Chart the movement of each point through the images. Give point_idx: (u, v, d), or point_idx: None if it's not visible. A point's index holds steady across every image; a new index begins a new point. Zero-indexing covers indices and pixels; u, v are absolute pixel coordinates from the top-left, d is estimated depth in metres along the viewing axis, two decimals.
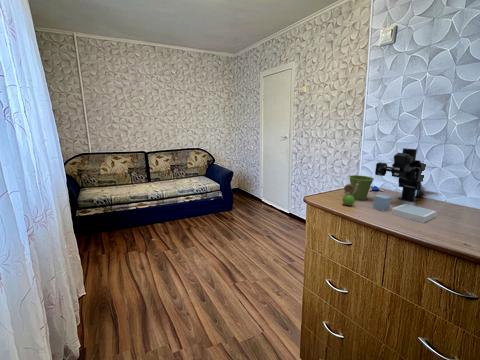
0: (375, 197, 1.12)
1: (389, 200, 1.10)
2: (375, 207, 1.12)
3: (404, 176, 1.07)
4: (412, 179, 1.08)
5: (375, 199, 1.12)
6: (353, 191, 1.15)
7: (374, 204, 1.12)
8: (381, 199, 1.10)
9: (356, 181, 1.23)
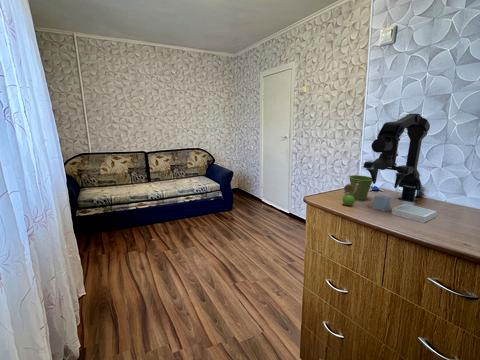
0: (375, 197, 1.12)
1: (389, 200, 1.10)
2: (375, 207, 1.12)
3: (399, 181, 1.05)
4: (407, 174, 1.04)
5: (375, 199, 1.12)
6: (353, 191, 1.15)
7: (374, 204, 1.12)
8: (381, 199, 1.10)
9: (356, 181, 1.23)
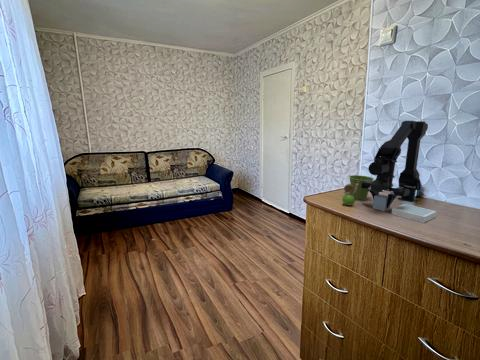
0: (375, 197, 1.12)
1: None
2: (375, 207, 1.12)
3: (391, 201, 1.09)
4: None
5: (375, 199, 1.12)
6: (353, 191, 1.15)
7: (374, 204, 1.12)
8: (381, 199, 1.10)
9: (356, 181, 1.23)
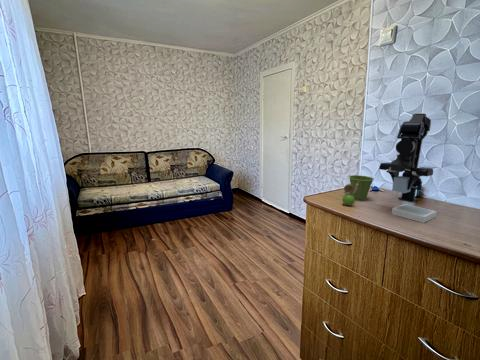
0: (395, 178, 1.05)
1: None
2: (395, 189, 1.06)
3: (413, 183, 1.03)
4: None
5: (395, 181, 1.05)
6: (353, 191, 1.15)
7: (394, 186, 1.06)
8: (401, 180, 1.03)
9: (356, 181, 1.23)
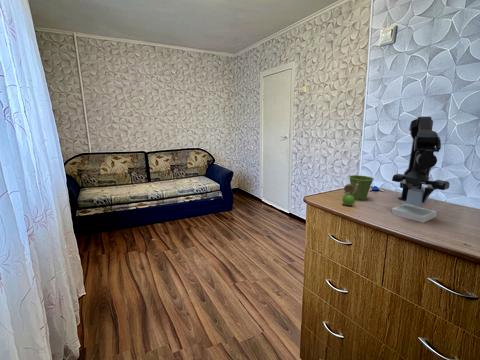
0: (409, 191, 1.02)
1: None
2: (409, 202, 1.03)
3: (428, 196, 1.00)
4: None
5: (409, 193, 1.03)
6: (353, 191, 1.15)
7: (408, 199, 1.03)
8: (416, 193, 1.00)
9: (356, 181, 1.23)
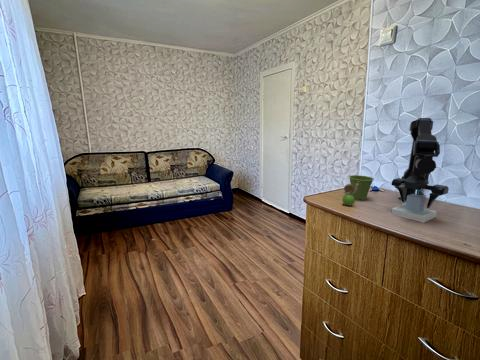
0: (408, 197, 1.03)
1: (424, 200, 1.02)
2: (408, 208, 1.04)
3: (432, 201, 0.99)
4: None
5: (408, 199, 1.03)
6: (353, 191, 1.15)
7: (407, 204, 1.04)
8: (415, 199, 1.01)
9: (356, 181, 1.23)
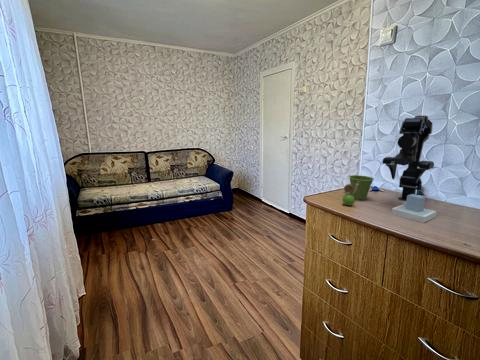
0: (408, 197, 1.03)
1: (424, 200, 1.02)
2: (408, 208, 1.04)
3: (420, 176, 1.07)
4: (427, 169, 1.06)
5: (408, 199, 1.03)
6: (353, 191, 1.15)
7: (407, 204, 1.04)
8: (415, 199, 1.01)
9: (356, 181, 1.23)
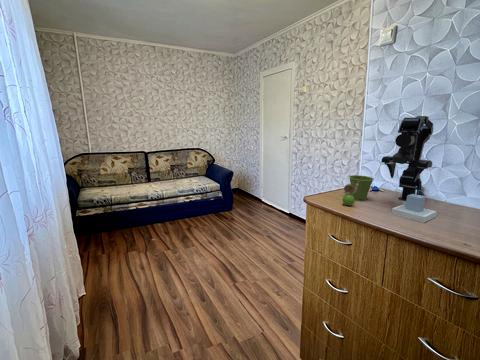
0: (408, 197, 1.03)
1: (424, 200, 1.02)
2: (408, 208, 1.04)
3: (418, 175, 1.08)
4: (426, 168, 1.06)
5: (408, 199, 1.03)
6: (353, 191, 1.15)
7: (407, 204, 1.04)
8: (415, 199, 1.01)
9: (356, 181, 1.23)
